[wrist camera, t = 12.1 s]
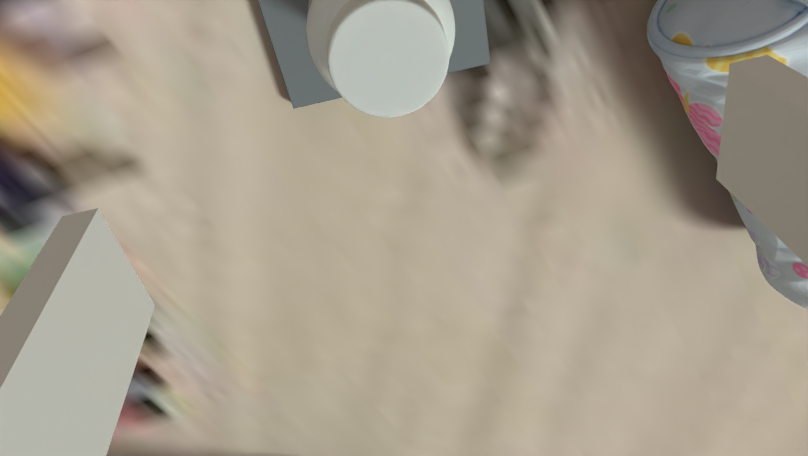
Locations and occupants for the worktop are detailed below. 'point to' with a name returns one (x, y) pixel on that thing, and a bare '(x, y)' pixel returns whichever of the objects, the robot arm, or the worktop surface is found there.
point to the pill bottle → (382, 50)
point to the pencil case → (707, 83)
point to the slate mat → (304, 83)
